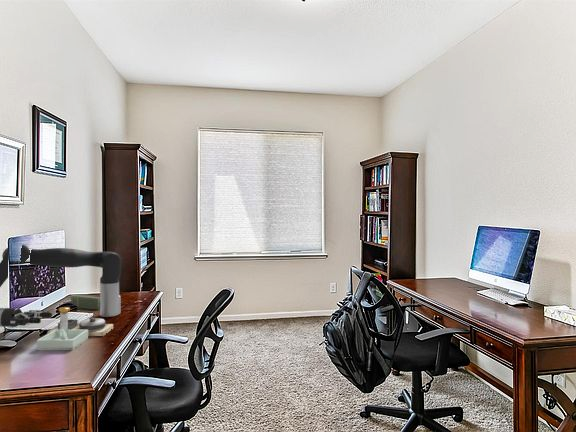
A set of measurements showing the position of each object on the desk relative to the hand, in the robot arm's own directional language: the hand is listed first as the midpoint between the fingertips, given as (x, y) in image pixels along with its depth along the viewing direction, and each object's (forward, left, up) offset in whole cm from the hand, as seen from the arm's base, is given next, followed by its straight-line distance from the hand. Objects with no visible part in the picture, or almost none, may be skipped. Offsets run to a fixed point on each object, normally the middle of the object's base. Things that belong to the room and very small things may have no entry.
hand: (46, 317), depth 168 cm
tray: (-4, +6, -11) cm, 13 cm away
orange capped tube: (-4, +6, -10) cm, 12 cm away
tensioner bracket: (-17, -3, -11) cm, 21 cm away
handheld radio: (-45, -41, -12) cm, 62 cm away
